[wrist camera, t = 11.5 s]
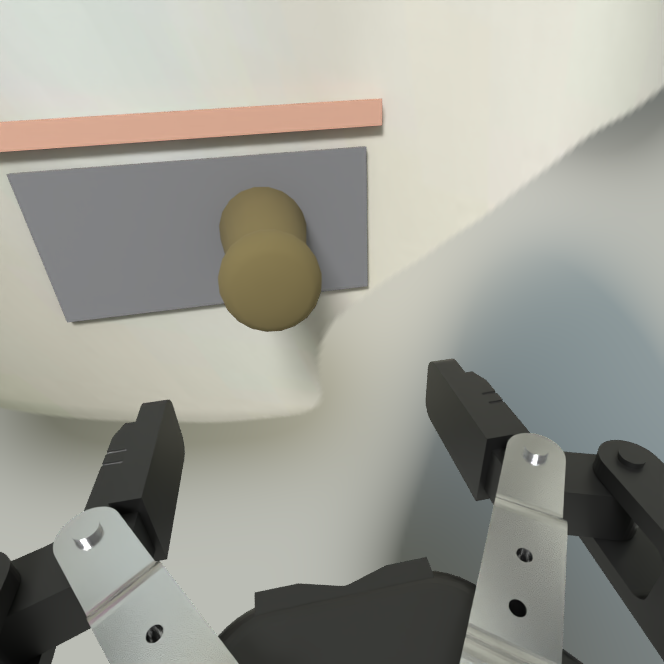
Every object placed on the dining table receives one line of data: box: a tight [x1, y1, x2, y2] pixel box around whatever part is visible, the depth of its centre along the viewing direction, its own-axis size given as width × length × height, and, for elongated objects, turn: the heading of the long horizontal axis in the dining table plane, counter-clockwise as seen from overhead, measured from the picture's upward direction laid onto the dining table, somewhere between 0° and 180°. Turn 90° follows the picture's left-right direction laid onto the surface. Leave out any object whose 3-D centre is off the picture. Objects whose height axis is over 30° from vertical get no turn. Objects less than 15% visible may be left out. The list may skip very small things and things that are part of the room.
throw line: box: [0, 99, 382, 152], centre depth 26 cm, size 24×2×1 cm, turn 93°
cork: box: [218, 187, 322, 332], centre depth 25 cm, size 6×6×11 cm
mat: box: [7, 146, 368, 322], centre depth 29 cm, size 22×10×1 cm, turn 93°
